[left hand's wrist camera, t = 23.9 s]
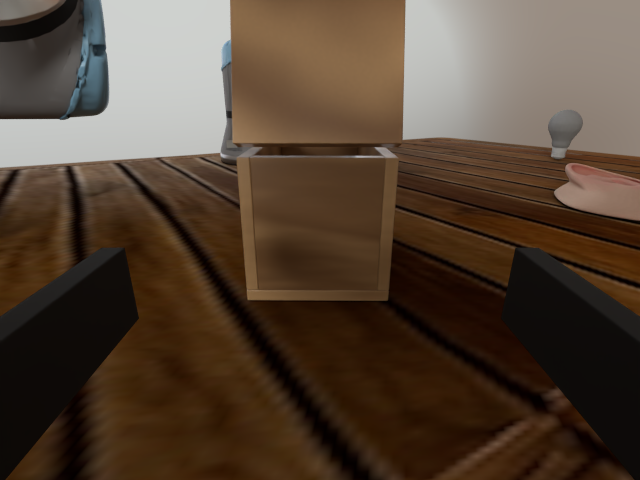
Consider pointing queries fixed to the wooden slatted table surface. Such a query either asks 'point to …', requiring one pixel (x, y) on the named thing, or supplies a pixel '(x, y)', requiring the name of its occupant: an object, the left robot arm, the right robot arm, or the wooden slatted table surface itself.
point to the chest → (317, 222)
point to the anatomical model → (600, 192)
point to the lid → (317, 73)
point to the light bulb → (563, 131)
